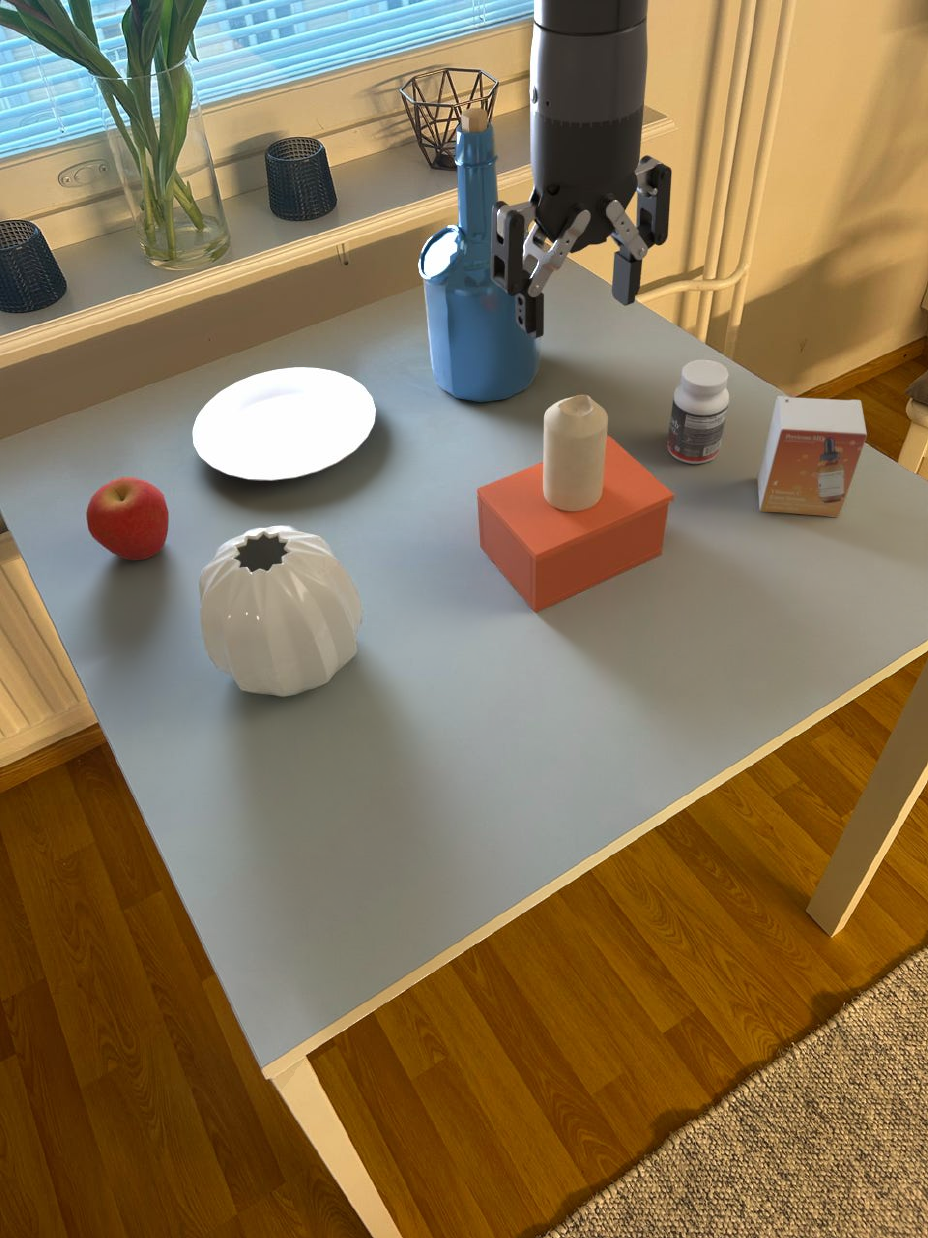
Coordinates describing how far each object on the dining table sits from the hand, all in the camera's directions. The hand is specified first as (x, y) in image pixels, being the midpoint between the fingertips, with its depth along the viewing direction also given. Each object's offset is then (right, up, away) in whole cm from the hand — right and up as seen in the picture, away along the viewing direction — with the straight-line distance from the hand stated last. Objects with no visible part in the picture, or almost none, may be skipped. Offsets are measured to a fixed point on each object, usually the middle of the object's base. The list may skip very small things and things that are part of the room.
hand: (578, 316), depth 74 cm
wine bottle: (-7, +6, +40) cm, 41 cm away
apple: (-42, -17, +23) cm, 51 cm away
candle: (+1, -12, +14) cm, 18 cm away
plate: (-29, -3, +34) cm, 45 cm away
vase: (-25, -27, +12) cm, 39 cm away
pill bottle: (+16, -5, +29) cm, 33 cm away
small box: (+25, -12, +23) cm, 36 cm away
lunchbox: (+1, -17, +19) cm, 26 cm away
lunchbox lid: (+1, -12, +14) cm, 19 cm away
